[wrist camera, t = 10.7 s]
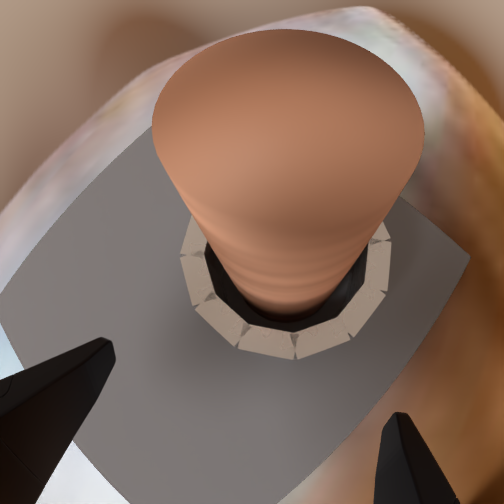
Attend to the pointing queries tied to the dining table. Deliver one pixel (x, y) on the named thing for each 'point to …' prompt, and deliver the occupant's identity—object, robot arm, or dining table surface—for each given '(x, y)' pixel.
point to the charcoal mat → (207, 345)
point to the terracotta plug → (287, 159)
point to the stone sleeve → (276, 341)
